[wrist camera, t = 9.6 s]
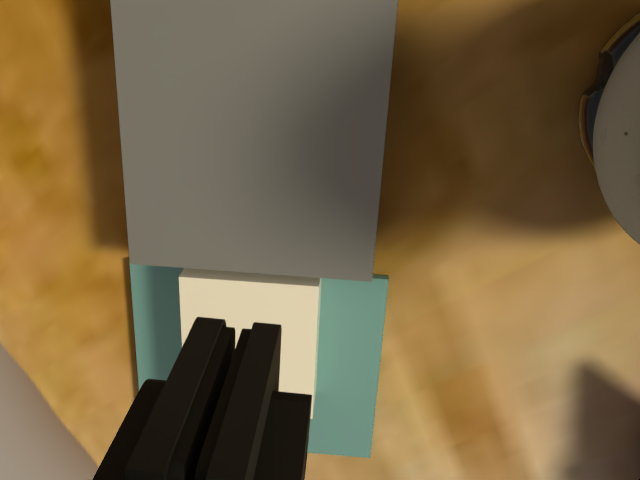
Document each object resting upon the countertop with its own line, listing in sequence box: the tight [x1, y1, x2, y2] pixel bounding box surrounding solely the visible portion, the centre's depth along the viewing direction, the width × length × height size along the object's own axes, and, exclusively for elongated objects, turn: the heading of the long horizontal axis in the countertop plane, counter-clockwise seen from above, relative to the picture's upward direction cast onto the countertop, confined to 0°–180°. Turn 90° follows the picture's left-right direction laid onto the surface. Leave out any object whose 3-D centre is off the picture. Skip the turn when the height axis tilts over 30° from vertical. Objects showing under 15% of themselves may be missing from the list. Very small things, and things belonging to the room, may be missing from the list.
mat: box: [129, 260, 389, 458], centre depth 35 cm, size 12×14×1 cm
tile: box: [179, 268, 322, 419], centre depth 33 cm, size 8×7×2 cm
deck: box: [110, 0, 398, 282], centre depth 28 cm, size 16×12×3 cm
